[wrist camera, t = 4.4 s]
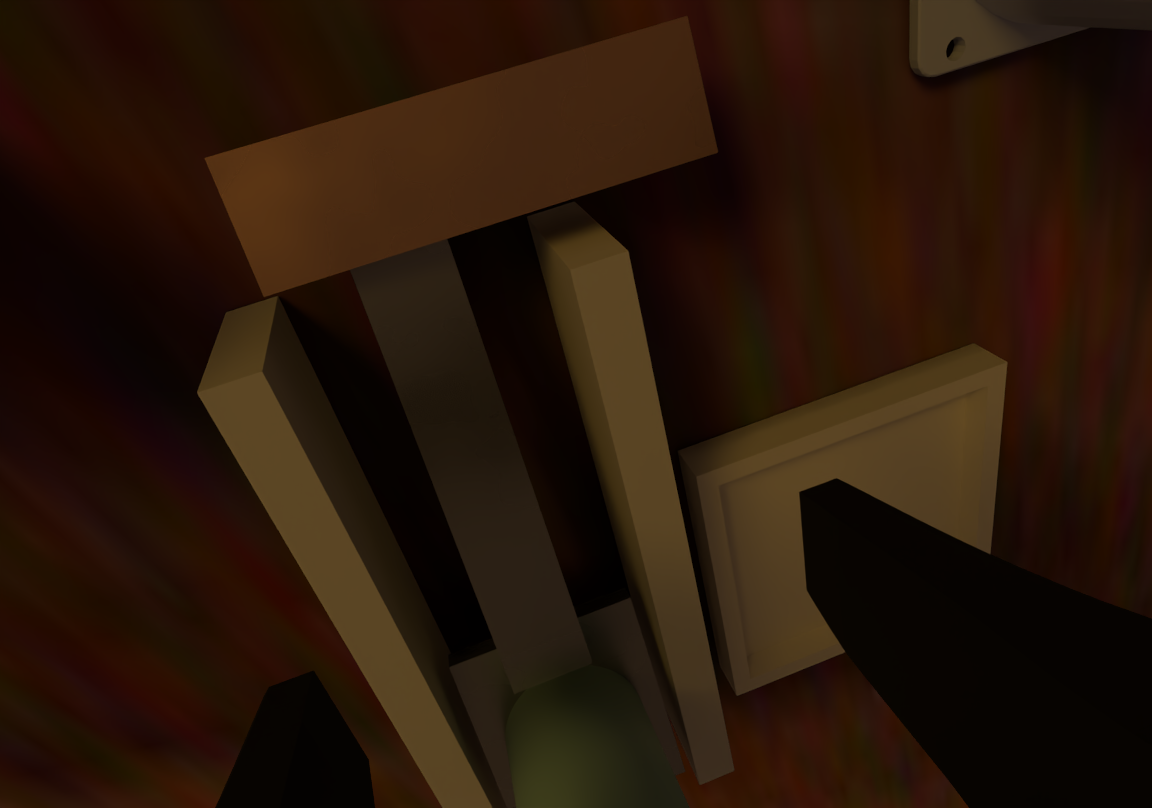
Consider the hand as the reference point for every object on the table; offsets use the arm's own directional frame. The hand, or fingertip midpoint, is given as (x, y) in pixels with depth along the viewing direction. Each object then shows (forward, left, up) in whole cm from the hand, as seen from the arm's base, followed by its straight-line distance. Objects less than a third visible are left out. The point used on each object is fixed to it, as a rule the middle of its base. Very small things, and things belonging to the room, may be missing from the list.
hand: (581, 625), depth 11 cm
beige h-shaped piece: (+1, +6, -10) cm, 11 cm away
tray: (-10, +10, -10) cm, 17 cm away
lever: (-1, +4, -8) cm, 9 cm away
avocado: (+1, +10, -6) cm, 12 cm away
